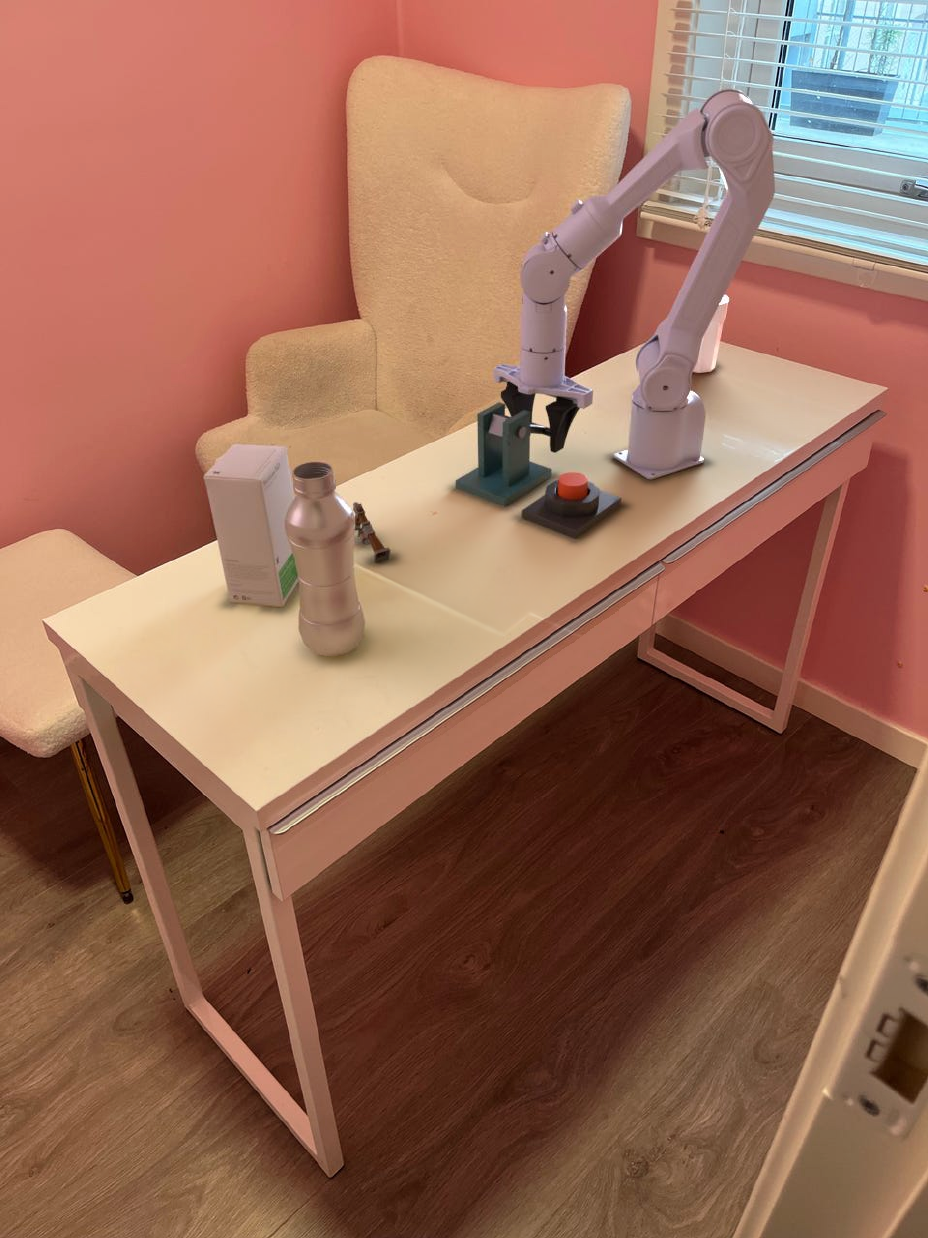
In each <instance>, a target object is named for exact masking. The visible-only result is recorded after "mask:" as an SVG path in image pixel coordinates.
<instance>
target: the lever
mask: <svg viewBox="0 0 928 1238" xmlns="http://www.w3.org/2000/svg"><path fill="white" fill-rule="evenodd" d="M509 418H511V416H509V415H506V414H505V415H498V414H493V417H492V421H491V425H490V429H489V433H491V434H494V435H497V436H500V437H503V422H504V421H506V420H507V419H509ZM530 433H531V434H534V435H543V436H546V437H549V438H550V427H548V426H545V425H542V424H538V423H536V422H533V421H532V422H530Z"/></svg>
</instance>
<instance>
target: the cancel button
mask: <svg viewBox="0 0 928 1238" xmlns="http://www.w3.org/2000/svg"><path fill="white" fill-rule="evenodd" d="M557 480H558V495H559V497H562V498H565V499H574V500H577V499H581V498H585V497H586V496H587V491H588V481H589V478H588V476H587V475H585V474H583V473H580V472H575V471H573V472H572V471H571V472H564V473H562V474H560V475H559V477H558V478H557Z"/></svg>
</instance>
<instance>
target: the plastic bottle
mask: <svg viewBox="0 0 928 1238" xmlns="http://www.w3.org/2000/svg"><path fill="white" fill-rule="evenodd" d="M291 478H292V486H293V493H294V495H295V496H294V500H293V502H292V503H291V505H290V507H289V509H288V511H287V513H286V518H285V523H284V524H285V530H286V535H287V538H288V541H289V544H290V547H291V550H292V553H293V557H294V560H295V565H296V570H297V574H298V580H299V581H298V590H299V591H298V592H299V610H298V633H299V635H300V638H301V640H302V643H303V644H304V646H305V647H306V648H307V649H309V650H310V651H311V652H312V653H313V654H316V655H319V656H322V657H323V656H324V657H337V656H341V655H342V656H343V655H345V654H348V653H350V652H352V651H354V650H355V649H356V648H357V647H358V646H359V644H360V643H361V641H362V640H363V638H364V635H365V627H366V618H365V616H364V611H363V607H362V604H361V602H360V600H359V595H358V589H357V585H356V579H355V568H354V564H355V563H354V547H355V533H356V531H355V513H354V511H353V508H352V507H351V506H350V504H349V503H348V502H347V501H346V500H345V499H344V498H343V496H341V495H340V494H339V493H338V492H337V491H336V489H337V488H338V487H337V480H336V479H335V474H334V468H333V466H332V465H331V464H329V463H327V462H324V461H308V462H304V463H301V464H298V465H296V466H294V467H293V469H292V471H291Z"/></svg>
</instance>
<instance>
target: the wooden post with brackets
mask: <svg viewBox="0 0 928 1238" xmlns="http://www.w3.org/2000/svg"><path fill="white" fill-rule="evenodd" d="M352 512H353V513H354V517H355V532H356V531H357V538H359V539H360V542H361V543H362V544H363V543H364V544H365V545H368V544H369V543H370V545H371V547H372V550H373V552H374V555H373V561H374V562H375V563H376V562H379V561H382V560H387V559H389V558H390V554H391V549H390V547H389V546H388V547H385V546H384V544H382V542H381V540H380V539H379V538H378V537H377V535H376V531H375V530H374V527H373V524H371V521H370V520H368V518H367V516H366V510H365V509H364V507H363V504H362V503H359V502H358V501H354V502H353V503H352Z"/></svg>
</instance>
